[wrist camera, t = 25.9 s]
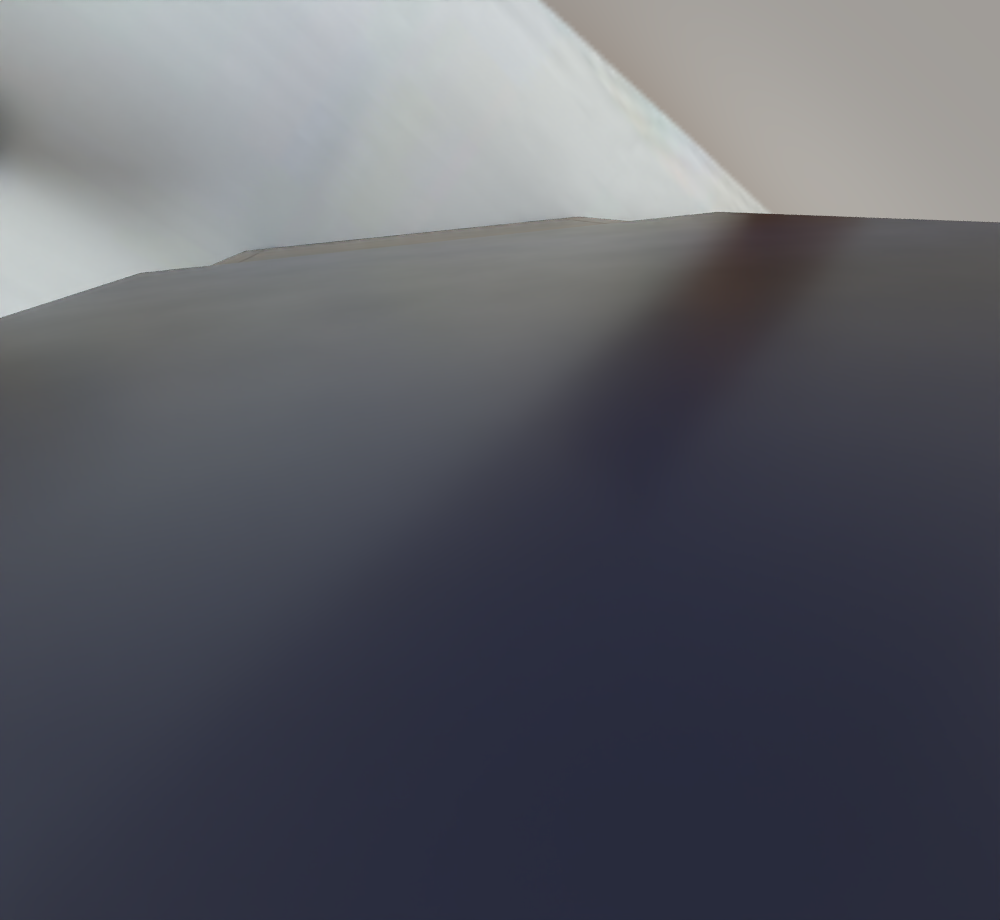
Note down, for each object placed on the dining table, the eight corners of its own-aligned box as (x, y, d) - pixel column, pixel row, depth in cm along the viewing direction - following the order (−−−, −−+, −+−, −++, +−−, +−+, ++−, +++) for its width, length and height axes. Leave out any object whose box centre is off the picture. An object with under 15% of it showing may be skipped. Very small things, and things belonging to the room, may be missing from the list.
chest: (583, 537, 31) (667, 671, 22) (337, 586, 28) (323, 756, 20) (579, 216, 23) (707, 227, 14) (243, 251, 21) (152, 289, 12)
